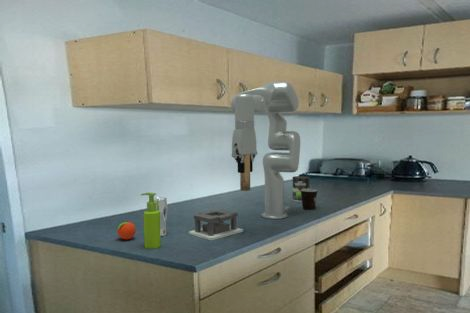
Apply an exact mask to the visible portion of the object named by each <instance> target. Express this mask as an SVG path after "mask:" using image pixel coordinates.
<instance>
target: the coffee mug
mask: <svg viewBox="0 0 470 313" xmlns="http://www.w3.org/2000/svg"><path fill="white" fill-rule="evenodd" d="M317 194H318V190H317V189H311V188H310V189H303V190H301V196H302V202H301V204H302V210H305V211H314V210H316V204H317V203H316V202H317V196H318V195H317Z"/></svg>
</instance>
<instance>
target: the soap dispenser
mask: <svg viewBox="0 0 470 313" xmlns="http://www.w3.org/2000/svg"><path fill="white" fill-rule="evenodd" d="M156 195H157V193H155V192H144V193H141V194H140V196H148V201H147V202H146V210H144V211H143V232H144V234H143V236H144V237H143V238H144V242H143V243H144V248H145V249H148V250H152V249H158V248H161V244H162V242H161V237H162V236H161V237H160V211H158V210H156V202H155V201H154V198H155V196H156Z"/></svg>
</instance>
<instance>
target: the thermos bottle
mask: <svg viewBox="0 0 470 313" xmlns="http://www.w3.org/2000/svg"><path fill="white" fill-rule="evenodd" d="M240 158H241V156H240ZM243 163H244V173H239V177H240V178H239V180H240V181H239V182H240V183H239V184H240V185H239V186H240V189H239V190H240V191H241V192H243V191H244V192H250V191H251V172H250V154H246V155H244V160H243Z"/></svg>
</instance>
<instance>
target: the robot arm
mask: <svg viewBox="0 0 470 313" xmlns="http://www.w3.org/2000/svg"><path fill="white" fill-rule="evenodd" d="M299 103H300V102H299V98H298V94H297V93H296V91H295V89H294V87H293V85H292V84H291V83H290V82H289V81H285V80H284V81H270V82H269V81H268V82H266V83H264V84H263V85H261V86H259V87H256V88H253V89H249V90H245V91H241V92H239V93H237V94H235V95H234V96H233V97H232V99H231V101H230V108H231V111H232V112H233V113H234V129H233V131H232V138H231V140H232V141H231V157H232V158H233V159H234V160H235V161H236V163H237V173H238V174H240V173H244V163H243V160H244V155H246V154H250V173H253V168H254V167H253V163H254V161H255V158H256V156H257V155H258V154H259V152H258V150H257V135H256V130H255V124H256V123H255V114H261V113H263V112H264V111H265V113H266V115H267V117H268V120H269V127H268V138H267V147H268V148H269V149H270V150H273V151H274V152H267V153H265V154H264V155H263V158H262V167H263V173H264V212H262V213H261V217H263V218H265V219H270V220H282V219H285V218H287V217H288V213H287V212H286V211H289V210H290V207H289V206H285V180H284V178H283V175H282V174H281V173H296V172H297V171H298V170H299V166H300V165H299V163H300V154H301V153H300V152H301V136H300V133H299V132H297V131H294V130H287V124H288V123H287V120H286V118H285V117H284V115H283V114H281V113H292V112H296V111H297V110H298V108H299V106H300V105H299ZM275 151H276V152H275ZM278 151H285V152H278ZM286 151H288V152H286ZM240 156H241V158H240Z"/></svg>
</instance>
